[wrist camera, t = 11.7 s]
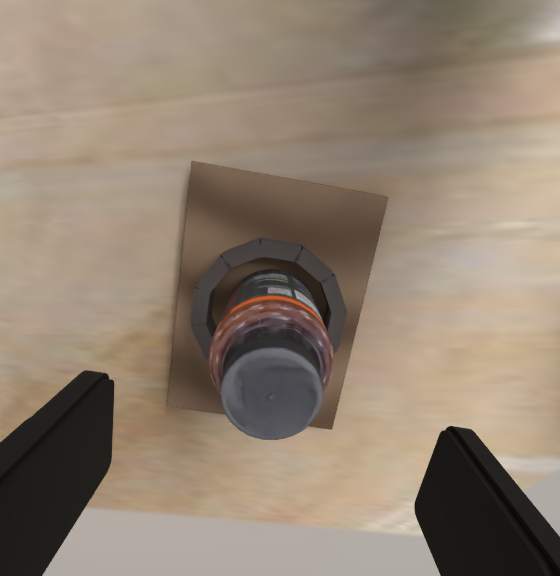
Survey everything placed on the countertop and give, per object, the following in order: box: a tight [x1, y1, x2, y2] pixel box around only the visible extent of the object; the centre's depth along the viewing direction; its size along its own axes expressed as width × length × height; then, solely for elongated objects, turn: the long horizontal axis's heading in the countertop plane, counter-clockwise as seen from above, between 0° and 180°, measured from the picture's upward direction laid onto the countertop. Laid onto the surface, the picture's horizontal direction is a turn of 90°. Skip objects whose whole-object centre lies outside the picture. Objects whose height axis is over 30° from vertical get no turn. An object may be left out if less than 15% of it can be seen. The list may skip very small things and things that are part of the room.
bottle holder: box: [167, 161, 388, 429], centre depth 23 cm, size 18×13×3 cm
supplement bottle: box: [209, 269, 334, 440], centre depth 18 cm, size 6×6×11 cm
